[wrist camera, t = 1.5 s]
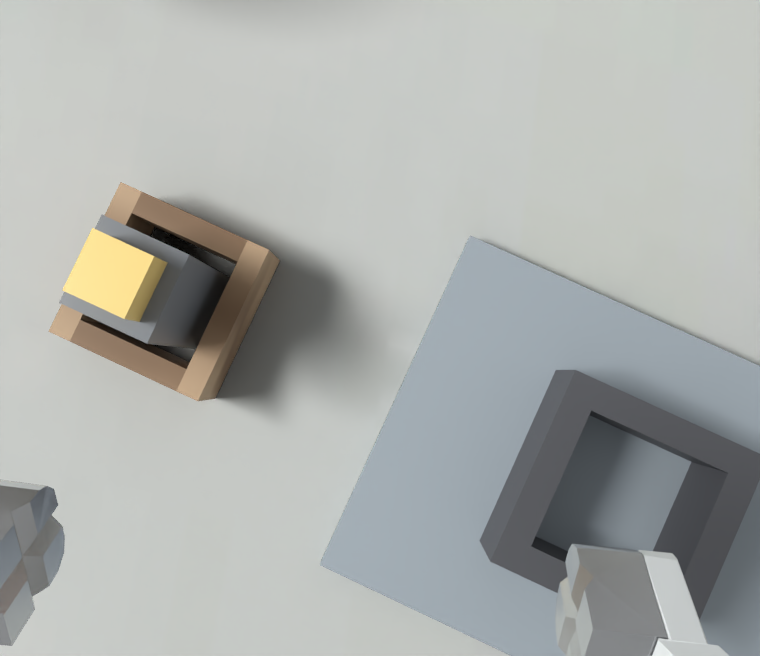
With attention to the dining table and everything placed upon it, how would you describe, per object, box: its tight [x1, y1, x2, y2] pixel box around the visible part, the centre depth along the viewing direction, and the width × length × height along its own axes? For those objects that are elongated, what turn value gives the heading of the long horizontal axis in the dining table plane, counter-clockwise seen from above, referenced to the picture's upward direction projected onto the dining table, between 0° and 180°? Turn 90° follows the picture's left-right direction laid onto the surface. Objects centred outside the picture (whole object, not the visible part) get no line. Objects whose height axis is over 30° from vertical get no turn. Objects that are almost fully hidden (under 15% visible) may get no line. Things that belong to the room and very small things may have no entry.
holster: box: [49, 182, 280, 401], centre depth 32 cm, size 7×7×3 cm
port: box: [320, 236, 760, 656], centre depth 31 cm, size 16×20×4 cm
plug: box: [59, 215, 230, 349], centre depth 29 cm, size 4×4×8 cm
